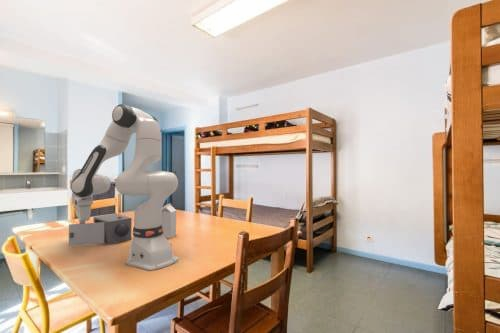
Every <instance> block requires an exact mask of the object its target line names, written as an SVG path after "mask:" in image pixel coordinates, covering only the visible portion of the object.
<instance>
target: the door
mask: <svg viewBox="0 0 500 333" xmlns="http://www.w3.org/2000/svg"><path fill="white" fill-rule="evenodd" d="M105 243H106V222H101V223H94V222H88V223H87V222H85V223H84V224H80V223H71V224H68V246H69V247H70V246H71V247H73V246H83V245H84V246H85V245H95V244H97V245H98V244H105Z"/></svg>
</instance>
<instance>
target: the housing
mask: <svg viewBox="0 0 500 333" xmlns="http://www.w3.org/2000/svg"><path fill="white" fill-rule="evenodd" d="M132 220H133V219H132V217H129V216H125V215H122V214H120V213H119V214H118V213H112V214H111V213H110V214H102V215H97V216H95V215H94V216H93V223H101V222H106V243H104V244H105V245H108V246H109V245H113V244H118V243H121V242H125V241H130V240H131V241H132Z"/></svg>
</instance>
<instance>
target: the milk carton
mask: <svg viewBox="0 0 500 333" xmlns="http://www.w3.org/2000/svg"><path fill="white" fill-rule="evenodd" d="M161 225H162V228H163V229H164V230H163V235H164V237H165V238H166V239H172V238H174V237H175V236H176V235H177V209H175V207H173V206H172V203H168V204H165V205H163V207H162V212H161Z"/></svg>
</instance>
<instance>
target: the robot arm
mask: <svg viewBox="0 0 500 333" xmlns="http://www.w3.org/2000/svg"><path fill="white" fill-rule="evenodd" d="M111 116H112V118H111V119H112V121H111V122H110V124H109V126H108V128H107V129H106V131H105V134H104V136H103V138H102V140H101V141H100V142H99V143H98V145H96V146H95V147H94V148H93V149H92V151H91V152H90V153H89V155H88V156H87V159H86V161H85V163H84V164H83V165H82V168H78V169H75V170H74V171H73V173H72V177H71V183H70V189H71V190H70V191H71V205H74V208H75V216H76V217H77V218H78V220H79V222H78V223H79V224H84V223H86V221H87V222H88V221H90V219H91V212H92V205H93V203H94V202H93V200H94V198H93V197H94V196H95V195H101V194H104V193H107V192H108V191H109V190H110V188H111V186H112V185H111V184H112V183H111V180H110V178H109V177H108V176H106V175H102V174H99V173H98V172H99V169H100V167H101V165H102V164H103V163H105V161H107V160H109V159H111V158H115V157H118V156H120V155H122V154H124V152H125V151H126V149H127V147H128V145H129V142H130V140H131V138H132V136H133V134H135V151H134V156H133V160H132V162H131V164H130V165H129V166H128V167H127V168H126V169H125V170H124V171H122V172H121V173H119V175H117V177H116V179H115V189H116V190H117V192H118V194H120V195H124V196H131V197H133V196H135V197H136V196H137V197H138V196H139V197H140V196H141V197H142V196H150V197H149V199H148V200H147V201H145V202H143V203H141V204H139V205H138V206H136V208H135V210H134V213H133V214H134V215H133V216H134V217H133V218H134V220H133V221H134V223H133V224H134V225H133V227H132V237H133V238H131V241H130V242H129V252H128V259H126V260H125V264H126V265H129V266H132V267H136V268H138V269H139V268H140V269H143V270H146V271H155V270H159V269H162V268H166V267H168V266H171V265H173V264H175V263H177V262H178V261H179V257H178V256H176V255H175V254H174V253H173V244H172V242H169V241H168V238H165V237H164V235H163V230H164V229H163V228H162V225H161V212H162V209H163V207H164V204H165V203H166V200H167V199H168V198H169V197H170V196H171V195H172V194H174V193H175V192H176V191H177V189H178V186H179V180H178V177H177V175H176V174H175V173H174V172H170V171H165V170H147V169H148V167H149V166H151V165H154V164H156V163H158V162H159V161H160V160H161V158H162V133H161V126H160V124H159V121H158V119H157V118H156V117H155V116H153V115H152V114H149V113H147V112H146V111H143V110H142V109H140V108H137V107H134V106H131V105H129V104H124V103H120V104H118V105H116V106H115V107H114V109H113V110H112V113H111Z"/></svg>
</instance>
